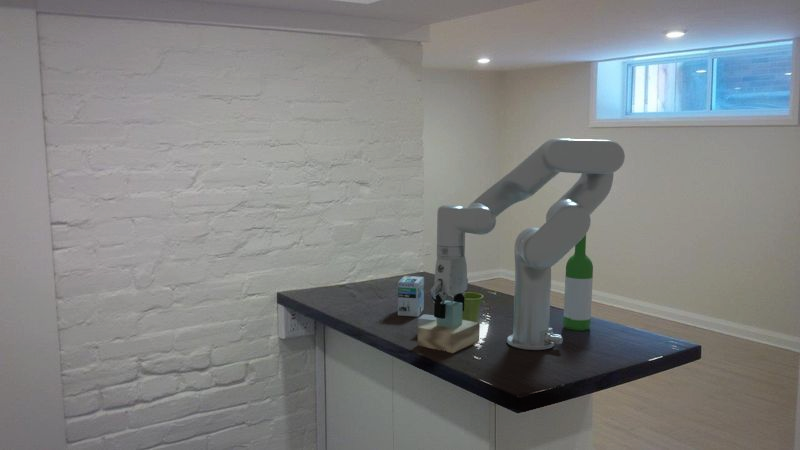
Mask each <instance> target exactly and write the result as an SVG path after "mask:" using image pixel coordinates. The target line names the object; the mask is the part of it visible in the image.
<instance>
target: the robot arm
mask: <svg viewBox="0 0 800 450" xmlns="http://www.w3.org/2000/svg"><path fill="white" fill-rule="evenodd" d="M625 157H626V154H625V151H624V149H623V147H622V146H621V145H620V143H618V142H616V141H614V140H609V139H574V138H572V139H571V138H563V137H562V138H561V137H559V138H557V137H554V138H550V139H548V140H546V141H545V142H543V144H541V145H540V146H539V147H538V148H537V149H535V150H534V151H533V152H532V153H531V154H529V156H527V157H526V158H525V159H523V160H522V162H520V163H519V164H517V166H516V167H514V169H512V170H511V171H509V173H507V174H506V175H504V176H503V177H502V178H501V179H500V180H498V181H497V182H496V183H495V184H493V185H492V186H491V187H489V188H488V189H487V190H485V191H484V192H483V193H481V195H479V196H478V197H477V198H476V199H475V200H474V201H472V202H471V204H469V205H468V206H467V207H465V206H463V205H458V204H445V205H441V206H439V207H438V209H437V221H436V224H437V226H436V228H437V229H436V263H435V269H434V270H435V271H434V284H433V286H432V287H431V288H430V293H431V299H432V300H433V301H432V302H433V306H434V307H433V308H434V309H433V311H434V312H433V313H434V314H433V315H434V317H436V318H441V319H445V314H446V304H444V302H445V301H446V300H447V296H448V297H452V296H454V295H456V296H454V302H460V303H463V305H462V312H463V311H464V301H465V295H466V293H465V292H466V291H467V290H468V283H469V279H468V268H467V259H466V234H473V235H487V234H489V233H491V232H492V231H493V230H494V228H495V227H496V226H497V225H496V224H497V217H498V216H500V215H501V213H503V212H504V211H506V209H508V208H509V207H511V206H513V205H515V204H516V203H520V202H522V201H525V200H527V199H530V198H531V197H533V196H534V195H535V194H536V193H537V192H539V190H540V189H542V188H543V187H544V186H545V185H546V184H548V183H549V182H550V181H551V180H553V178H555V177H556V176H557V175H559V174H560V173H569V174H571V173H572V174H580V177H579V178H578V180H576V182H575V183H574V184H572V187H571V188H569V189H568V190H567V192H565V193H564V194H563V195H562V196H561V197H560V198H559V199H558V200H557V201H555V202H554V203H553V204H552V205H551V206H550V207H549V208H548V209H547V211H546V215H545V223H544V224H543V225H542V226H540V228H538V227H527V228H526V229H523V230H522V231H520V233H518V235H517V237H516V239H515V241H514V272H515V273H514V294H513V295H514V296H513V297H514V298H513V323H512V324H513V326H512V328H513V329H512V334H510V335H508V336H507V337H506V338H507V339H506V343H507V344H508V345H509V346H511V347H513V348H517V349H522V350H529V351H542V350H548V349H552V348H553V347H554V346H555V344H558V345H562V344H563V341H564V339H563V335H562V334H557V333H554V332H553V331H554V330H553V328H552V327H550V315H551V313H550V310H551V309H550V308H551V291H552V290H551V289H552V267H553V266H555V264H557V263H558V262H559V261H561V260H562V259H563V258H564V257H565V256H566V255H567V254H568V253H569V252H570V251H572V249H573V248H575V245H576V244H577V243H578V242H579V241H580V240H581V239H582V238H583V237H584V236H585V235H586V236H587V234H588V232H589V230H590V227H591V215H592V214H593V212H595V210H596V209H597V208H598V207H599V206H600V205H601V204H603V202H604V200H606V198H607V197H608V195H609V193H610V191H611V189H612V186H613V182H614V176H615V175H614V173H615V172H617V171H618V170H620V169H621V168H622V167H623V164H624V162H625Z"/></svg>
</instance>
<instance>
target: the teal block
mask: <svg viewBox="0 0 800 450" xmlns="http://www.w3.org/2000/svg"><path fill="white" fill-rule="evenodd" d="M444 304H446V314H445V319H441V318H437V326H442V327H447V328H452V329H453V328H455V327H458V326H460V325H462V305H463V303H460V302H454V301H452V300H447V299H446V300H445V302H444Z"/></svg>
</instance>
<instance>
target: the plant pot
mask: <svg viewBox="0 0 800 450" xmlns="http://www.w3.org/2000/svg"><path fill="white" fill-rule="evenodd" d="M465 293H466V295H465V301H464V311H463V312H462V320H467V321H472V322H477V323H479V322H478V320H479V316H480V314H479V313H480V307H481V303H482V300H483V298H484V295H483V294H481V293H477V292H468V291H467V292H466V291H465ZM454 296H456V295H454ZM454 296H451V298H452V300H453V301H454Z"/></svg>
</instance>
